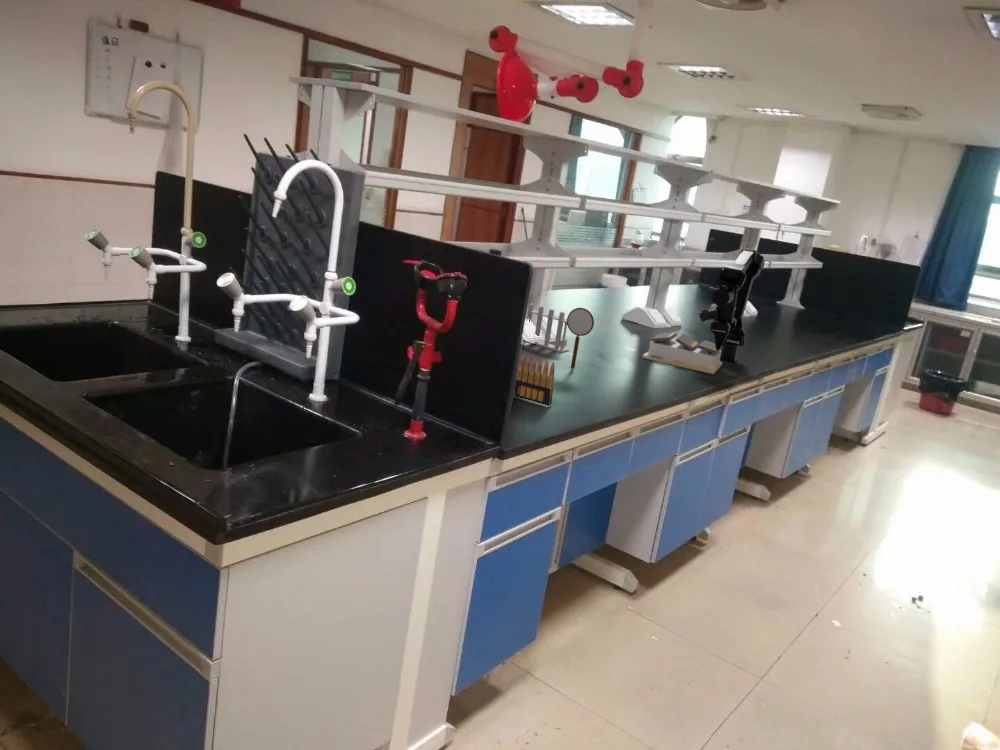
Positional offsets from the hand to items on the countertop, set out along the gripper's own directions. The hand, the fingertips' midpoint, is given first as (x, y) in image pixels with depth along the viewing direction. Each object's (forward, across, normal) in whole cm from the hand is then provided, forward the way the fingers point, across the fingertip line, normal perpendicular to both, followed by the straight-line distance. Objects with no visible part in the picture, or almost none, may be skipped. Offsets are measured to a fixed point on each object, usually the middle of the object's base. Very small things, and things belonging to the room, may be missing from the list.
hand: (719, 347), depth 260 cm
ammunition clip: (+7, +90, -33) cm, 96 cm away
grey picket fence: (+5, +25, -59) cm, 64 cm away
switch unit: (+7, +1, -12) cm, 14 cm away
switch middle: (0, 0, -11) cm, 11 cm away
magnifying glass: (+6, +50, -36) cm, 62 cm away
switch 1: (0, 0, -19) cm, 19 cm away
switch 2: (+1, 0, -3) cm, 3 cm away
